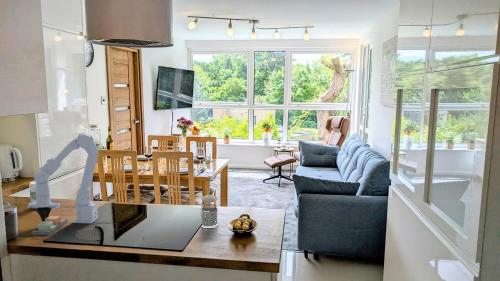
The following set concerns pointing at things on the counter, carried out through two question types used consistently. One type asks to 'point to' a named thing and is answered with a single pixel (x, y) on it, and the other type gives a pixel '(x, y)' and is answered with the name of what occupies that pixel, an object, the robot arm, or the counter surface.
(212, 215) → the french press
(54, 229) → the cable comb
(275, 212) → the counter surface
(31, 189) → the syrup box
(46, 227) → the sage plug
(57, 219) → the terracotta plug
